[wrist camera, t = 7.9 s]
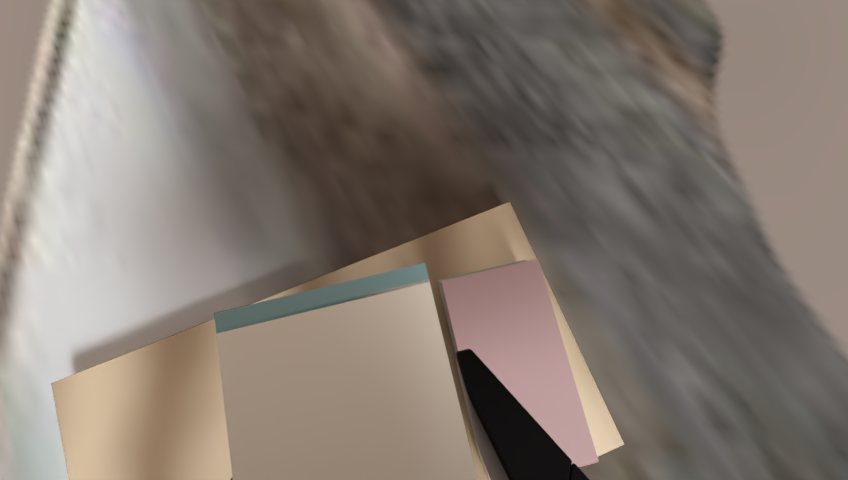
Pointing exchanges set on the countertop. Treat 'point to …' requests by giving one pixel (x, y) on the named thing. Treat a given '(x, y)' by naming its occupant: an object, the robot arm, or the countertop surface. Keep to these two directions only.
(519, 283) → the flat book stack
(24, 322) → the countertop surface
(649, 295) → the countertop surface
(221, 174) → the countertop surface
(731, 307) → the countertop surface
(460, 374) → the robot arm
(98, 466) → the shelf plank
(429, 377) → the boxed book
